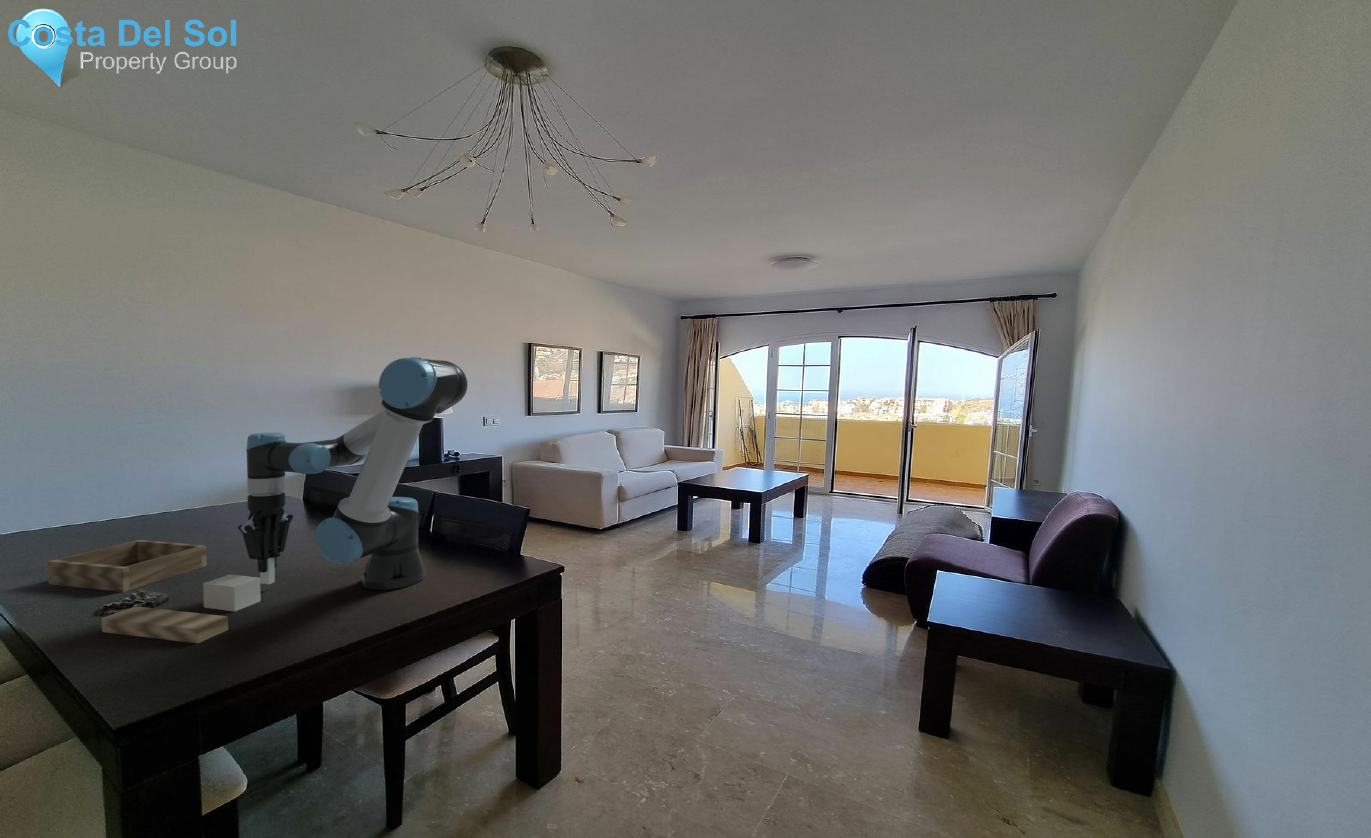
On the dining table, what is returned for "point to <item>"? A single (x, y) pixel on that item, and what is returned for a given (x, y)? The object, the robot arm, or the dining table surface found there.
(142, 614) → the batten
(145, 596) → the crumpled grey lump
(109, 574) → the wooden serving tray
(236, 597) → the block
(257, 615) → the dining table surface
